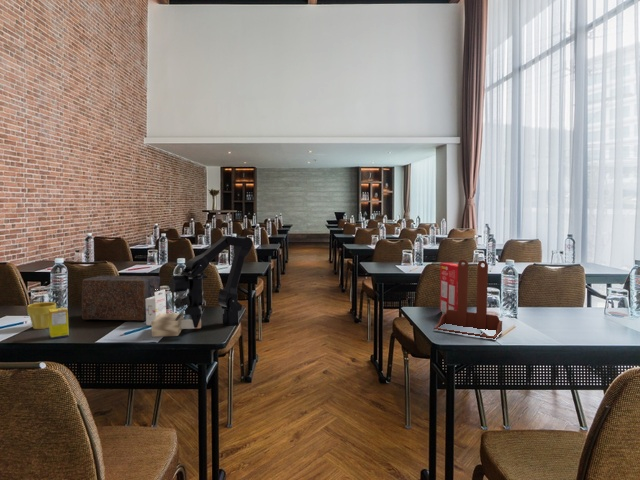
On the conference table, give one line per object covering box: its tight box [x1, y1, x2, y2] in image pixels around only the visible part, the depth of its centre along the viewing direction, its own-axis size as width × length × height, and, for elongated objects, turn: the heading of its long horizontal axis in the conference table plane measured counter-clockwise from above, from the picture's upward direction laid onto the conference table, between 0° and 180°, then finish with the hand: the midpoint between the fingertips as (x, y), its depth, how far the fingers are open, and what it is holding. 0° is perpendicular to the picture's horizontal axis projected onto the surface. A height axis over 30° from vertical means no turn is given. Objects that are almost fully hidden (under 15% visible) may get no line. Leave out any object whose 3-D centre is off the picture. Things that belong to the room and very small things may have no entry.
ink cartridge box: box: [145, 288, 167, 326], centre depth 191 cm, size 9×5×15 cm, turn 168°
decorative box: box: [81, 274, 161, 322], centre depth 201 cm, size 31×20×20 cm
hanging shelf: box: [433, 258, 503, 339], centre depth 179 cm, size 24×13×30 cm, turn 56°
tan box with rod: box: [151, 310, 185, 338], centre depth 178 cm, size 10×14×7 cm
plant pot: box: [26, 301, 57, 330], centre depth 183 cm, size 10×10×10 cm
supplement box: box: [48, 306, 70, 340], centre depth 169 cm, size 6×6×11 cm
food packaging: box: [439, 262, 458, 313], centre depth 209 cm, size 15×5×25 cm, turn 13°
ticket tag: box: [181, 318, 202, 330], centre depth 178 cm, size 16×1×4 cm, turn 99°
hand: (195, 327), depth 179 cm, fingers closed on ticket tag
